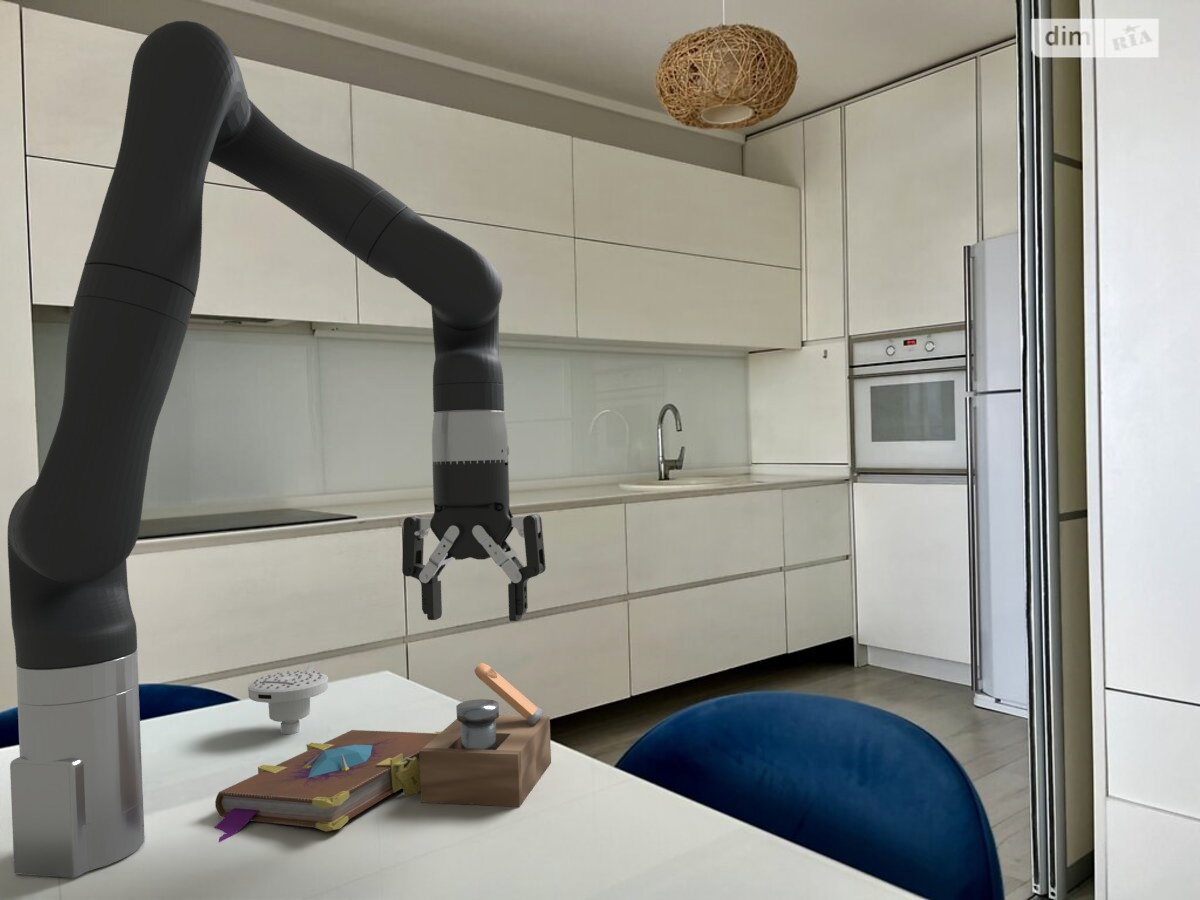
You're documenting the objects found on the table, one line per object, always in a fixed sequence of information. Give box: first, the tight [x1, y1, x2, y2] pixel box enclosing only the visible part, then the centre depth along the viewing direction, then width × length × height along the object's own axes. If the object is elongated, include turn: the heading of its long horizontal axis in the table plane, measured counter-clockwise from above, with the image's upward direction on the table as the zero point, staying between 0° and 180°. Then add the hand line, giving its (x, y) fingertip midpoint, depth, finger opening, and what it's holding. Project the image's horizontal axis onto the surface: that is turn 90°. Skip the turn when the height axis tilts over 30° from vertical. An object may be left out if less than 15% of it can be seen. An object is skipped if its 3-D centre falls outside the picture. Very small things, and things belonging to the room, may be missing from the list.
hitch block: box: [419, 714, 552, 807], centre depth 93 cm, size 12×10×5 cm
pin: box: [456, 698, 500, 750], centre depth 90 cm, size 4×4×9 cm
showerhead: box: [247, 663, 329, 735], centre depth 113 cm, size 9×7×10 cm
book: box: [213, 729, 443, 843], centre depth 91 cm, size 16×25×5 cm, turn 157°
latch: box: [474, 662, 544, 725], centre depth 97 cm, size 3×9×1 cm
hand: (475, 619), depth 90 cm, fingers open, 8 cm apart
